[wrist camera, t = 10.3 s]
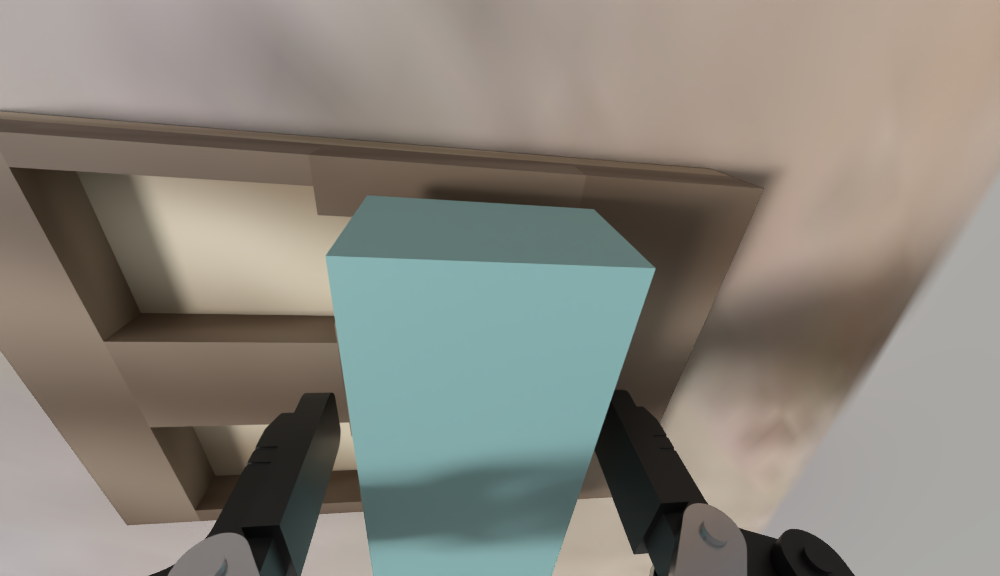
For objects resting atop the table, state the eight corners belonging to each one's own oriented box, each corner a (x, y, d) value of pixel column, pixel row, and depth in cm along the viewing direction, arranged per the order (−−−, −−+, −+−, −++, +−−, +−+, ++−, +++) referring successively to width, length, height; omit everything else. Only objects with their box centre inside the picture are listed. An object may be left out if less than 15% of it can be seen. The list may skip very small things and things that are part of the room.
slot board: (-27, 108, 9) (-167, 119, 7) (710, 169, 12) (764, 188, 10) (169, 466, 16) (126, 525, 14) (607, 450, 19) (626, 496, 17)
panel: (385, 168, 10) (324, 255, 5) (564, 181, 11) (655, 268, 6) (402, 471, 16) (381, 633, 12) (513, 466, 17) (537, 617, 12)
